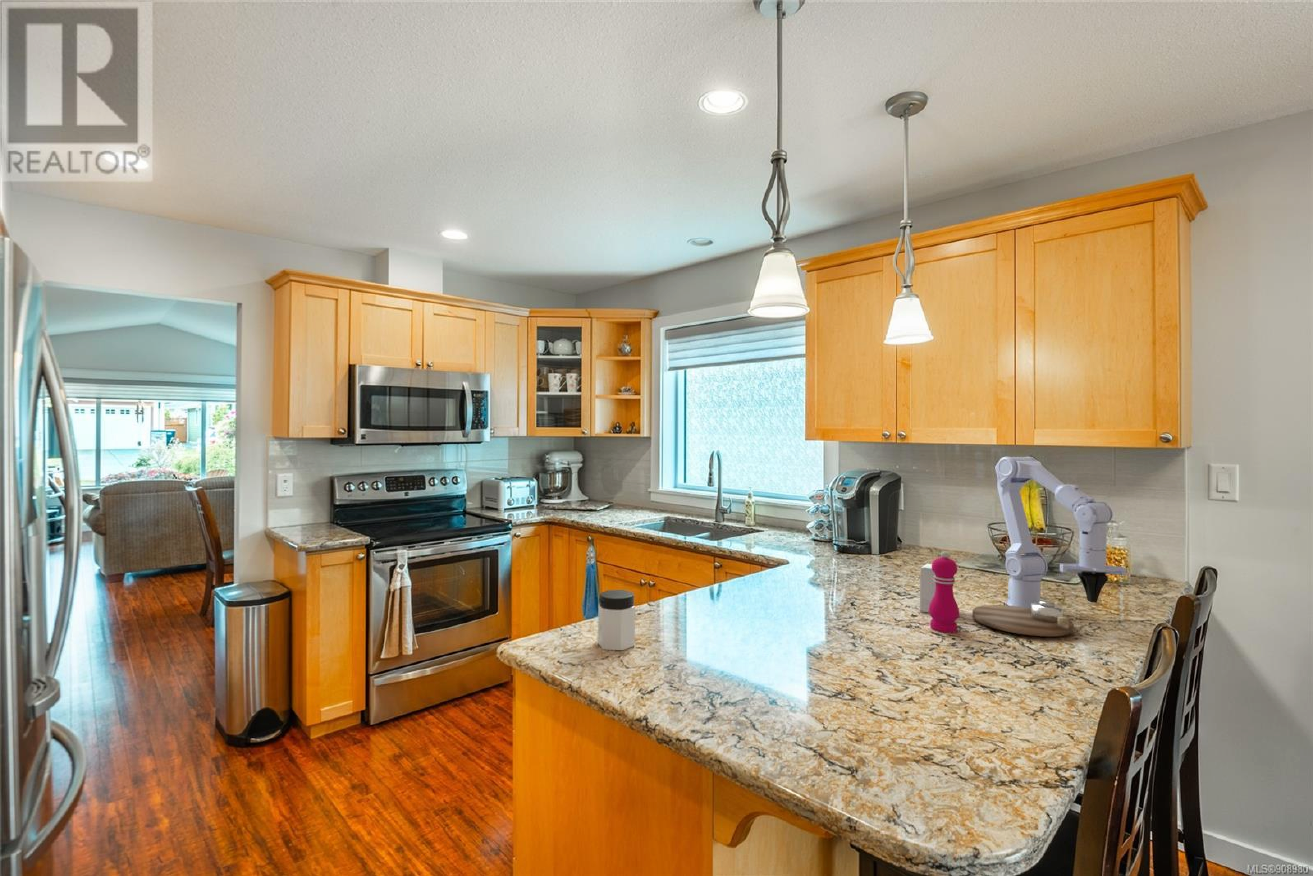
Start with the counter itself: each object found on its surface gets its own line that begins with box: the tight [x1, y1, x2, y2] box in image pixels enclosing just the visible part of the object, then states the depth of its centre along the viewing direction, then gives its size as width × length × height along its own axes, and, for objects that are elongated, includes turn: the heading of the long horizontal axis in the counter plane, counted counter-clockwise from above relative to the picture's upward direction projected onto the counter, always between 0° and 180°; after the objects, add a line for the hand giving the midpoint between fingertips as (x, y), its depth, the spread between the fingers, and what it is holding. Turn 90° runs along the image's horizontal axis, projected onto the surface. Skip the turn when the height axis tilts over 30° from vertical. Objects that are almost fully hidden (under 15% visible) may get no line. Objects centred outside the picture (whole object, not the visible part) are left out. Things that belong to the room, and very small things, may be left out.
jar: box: [597, 589, 636, 651], centre depth 144 cm, size 9×8×12 cm
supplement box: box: [919, 563, 936, 614], centre depth 175 cm, size 7×7×13 cm
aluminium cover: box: [1031, 599, 1064, 623], centre depth 161 cm, size 7×7×4 cm
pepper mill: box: [928, 551, 960, 633], centre depth 158 cm, size 7×7×20 cm
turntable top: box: [971, 604, 1075, 637], centre depth 162 cm, size 23×23×4 cm
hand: (1092, 601), depth 158 cm, fingers closed
